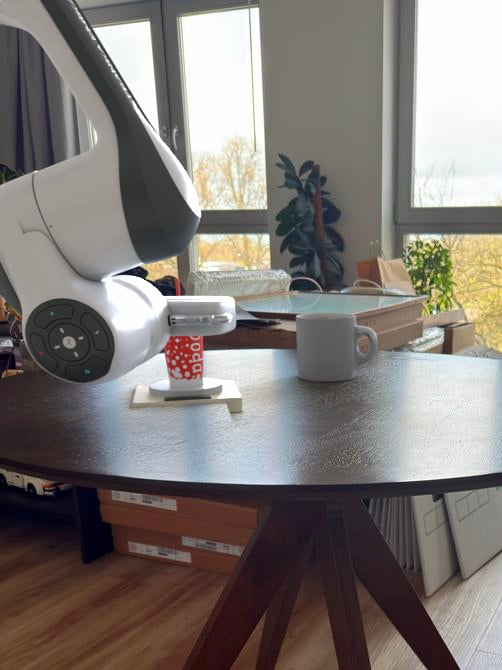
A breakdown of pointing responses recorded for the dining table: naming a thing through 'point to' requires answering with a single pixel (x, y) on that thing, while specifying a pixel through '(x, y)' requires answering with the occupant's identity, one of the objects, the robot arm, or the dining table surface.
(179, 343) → the beverage cup
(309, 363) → the coffee mug
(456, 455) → the dining table surface
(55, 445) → the dining table surface
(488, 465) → the dining table surface
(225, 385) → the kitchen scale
